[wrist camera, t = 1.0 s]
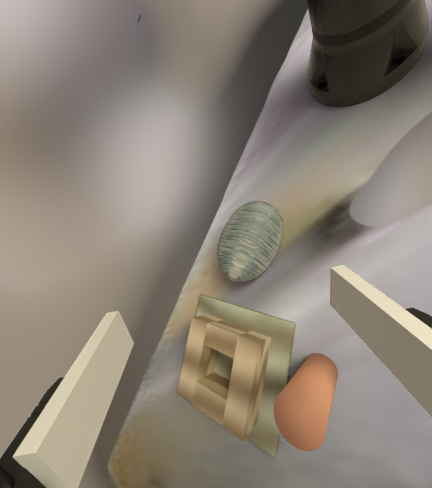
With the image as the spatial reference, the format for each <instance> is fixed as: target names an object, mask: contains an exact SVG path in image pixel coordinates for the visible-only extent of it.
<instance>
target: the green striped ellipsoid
mask: <svg viewBox="0 0 432 488" xmlns="http://www.w3.org/2000/svg"><path fill="white" fill-rule="evenodd" d="M282 237H283V221H282V218H281V216H280V214H279V212H278V211H277V210H276V209H275V208H274V207H273V206H272V205H270V204H268V203H266V202H262V201H254V202H250V203H247V204H245V205H243V206H241V207H240V208H239V209H238V210H237V211H236V212H235V213H234V214H233V215H232V217H231V218H230V219H229V221H228V222H227V224H226V226H225V228H224V230H223V232H222V234H221V237H220V240H219V245H218V261H219V265H220V267H221V269H222V271H223V273H224V274H225V276H226V277H227V278H228V279H230V280H232V281H234V282H246V281H250V280H253V279H255V278H257V277H258V276H260V275H261V274H263V273H264V272H265V271H266V270H267V269H268V268H269V266H270V265H271V264H272V262H273V261H274V259H275V257H276V255H277V253H278V250H279V248H280V244H281V241H282Z"/></svg>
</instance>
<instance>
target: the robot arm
mask: <svg viewBox="0 0 432 488" xmlns="http://www.w3.org/2000/svg"><path fill="white" fill-rule="evenodd" d="M307 3H308V8H309V14H310V20H311V26H312V32H313V40H312V47H311V54H310V60H309V67H308V81H309V86H310V90H311V93H312V95H313V97H314V98H315V99H316V100H317V101H319V102H320V103H322V104H325V105H329V106H348V105H353V104H357V103H360V102H363V101H366V100H368V99H371V98H373V97H375V96H377V95H379V94H381V93H382V92H384V91H386V90H387V89H389V88H390V87H391V86H393V85H394V84H395V83H397V82H398V81H399V80H400V79H401V78H403V77H404V76H405V75H406V74H407V73H408V71H409V70H410V69H411V68H412V67H413V65H414V64H415V63H416V61H417V60H418V58H419V56H420V54H421V52H422V49H423V46H424V42H425V39H426V35H427V31H428V14H427V9H426V3H425V0H307ZM330 305H331V306H332V307H333V308H334V309H335V310H336V311H337V312H338V313H339V315H340V316H341V317H342V318H343V319H344V320H345V321H346V322H347V323H348V325H349V326H350V327H351V328H352V329H353V330H354V331H355V332H356V333H357V334H358V336H359V337H360V338H361V339H362V340H363V341H364V342H365V343H366V344H367V346H368V347H369V348H370V349H371V350H372V351H373V352H374V353H375V354H376V355H377V357H378V358H379V359H380V360H381V361H382V362H383V363H384V364H385V365H386V367H387V368H388V369H389V370H390V371H391V372H392V373H393V374H394V375H395V377H396V378H397V379H398V380H399V381H400V382H401V383H402V384H403V385H404V386H405V388H406V389H407V390H408V391H409V392H410V393H411V394H412V395H413V396H414V398H415V399H416V400H417V401H418V402H419V403H420V404H421V405H422V406H423V407H424V409H425V410H426V411H427V412H428V413H429V414H430V415H431V416H432V317H431V316H430V315H428V314H426V313H424V312H421V311H419V310H417V309H414V308H409V309H404V308H402V307H401V306H400V305H398V304H397V303H395V302H394V301H393V300H391V299H390V298H388V297H387V296H386V295H384V294H383V293H382V292H380V291H379V290H377V289H376V288H375V287H373V286H372V285H370V284H369V283H368V282H366V281H365V280H364V279H362V278H361V277H359V276H358V275H357V274H355V273H354V272H352V271H351V270H350V269H348V268H347V267H345V266H344V265H340V266H336V267H331V280H330ZM133 345H134V343H133V340H132V338H131V336H130V334H129V332H128V330H127V328H126V325H125V323H124V321H123V319H122V317H121V315H120V313H119V311H115V312H109V313H106V315H105V316H104V318H103V319H102V321H101V322H100V324H99V325H98V327H97V328H96V330H95V331H94V333H93V335H92V336H91V337H90V339H89V341H88V342H87V344H86V345H85V347H84V348H83V350H82V351H81V353H80V354H79V356H78V357H77V359H76V360H75V362H74V363H73V365H72V366H71V368H70V370H69V371H68V373H67V374H66V376H65V377H63V378H59V379H58V380H57V381H56V382H55V383H54V384H53V386H51V387H50V388H49V389H48V390H47V392H46V393H45V395H44V396H43V398H42V399H41V401H40V402H39V405H38V406H36V408H35V409H34V411H33V412H32V414H31V417H29V418H28V419H27V421H26V423H25V424H24V425H23V427H22V428H21V430H20V431H19V432H18V434H17V435H16V437H15V438H14V440H13V441H12V443H11V444H10V446H9V447H8V448H7V450H6V451H5V453H4V454H3V456H2V457H1V459H0V488H78V486H79V483H80V481H81V478H82V476H83V473H84V471H85V468H86V466H87V463H88V460H89V458H90V455H91V453H92V450H93V448H94V445H95V442H96V440H97V437H98V435H99V432H100V430H101V427H102V424H103V422H104V419H105V417H106V414H107V411H108V409H109V406H110V404H111V401H112V399H113V396H114V394H115V391H116V388H117V386H118V383H119V381H120V378H121V375H122V373H123V370H124V367H125V365H126V363H127V360H128V357H129V355H130V352H131V350H132V347H133Z"/></svg>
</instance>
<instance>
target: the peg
mask: <svg viewBox="0 0 432 488" xmlns="http://www.w3.org/2000/svg"><path fill="white" fill-rule="evenodd" d="M337 377H338V372H337V368H336V366H335V364H334V363H333V361H332V360H331V359H330V358H328V357H327V356H325V355H323V354H319V353H315V354H311V355H310V356H309V357H308V358H307V359H306V360H305V362H304V363H303V364H302V366H301V367H300V368H299V369H298V371H297V372H296V373H295V375H294V376H293V377H292V379H291V380H290V381H289V382H288V384H287V385H286V386H285V388H284V389H283V390H282V392H281V393H280V394H279V395H278V397H277V398H276V400H275V403H274V408H273V413H274V419H275V422H276V425H277V427H278V429H279V431H280V433H281V434H282V436H283V437H284V438H285V439H286V440H287V441H288V442H289V443H290V444H291V445H293V446H294V447H296V448H298V449H300V450H304V451H313V450H315V449H317V448H319V447H320V446H321V444H322V443H323V441H324V437H325V433H326V428H327V423H328V419H329V414H330V409H331V405H332V400H333V396H334V391H335V386H336V382H337Z"/></svg>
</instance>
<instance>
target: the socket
mask: <svg viewBox="0 0 432 488" xmlns="http://www.w3.org/2000/svg"><path fill="white" fill-rule="evenodd" d="M295 326H296V323H294V322H290V321H287V320H284V319H280V318H277V317H274V316H271V315H267V314H264V313H261V312H257V311H254V310H251V309H248V308H244V307H241V306H238V305H234V304H231V303H228V302H224V301H221V300H218V299H215V298H211V297H208V296H205V295H200V299H199V304H198V309H197V314H196V317H192V320H191V325H190V330H189V335H188V340H187V345H186V350H185V355H184V360H183V364H182V369H181V374H180V379H179V384H178V389H177V393H178V394H179V395H180V396H182V397H183V398H185V399H186V400H187V401H189V402H190V403H191V404H193V405H194V406H196V407H197V408H198V409H200V410H201V411H202V412H204V413H205V414H207V415H208V416H209V417H211V418H212V419H213V420H215V421H216V422H218V423H219V424H220V425H222V426H223V427H224V428H226V429H227V430H229V431H230V432H231V433H233V434H234V435H235V436H237V437H238V438H240V439H241V440H242V441H243V440H244V439H245V438H247V439H249V440H250V441H252V442H253V443H254V444H256V445H257V446H259V447H260V448H261V449H263V450H264V451H266V452H267V453H268V454H270V455H271V456H273V457H274V458H275V456H276V454H277V450H278V443H279V436H280V431H279V429H278V427H277V425H276V422H275V419H274V413H273V408H274V403H275V400H276V398H277V397H278V395H279V394H280V393H281V392H282V390H283V389H284V388H285V386H286V385H287V381H288V374H289V367H290V360H291V353H292V346H293V339H294V332H295Z"/></svg>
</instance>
